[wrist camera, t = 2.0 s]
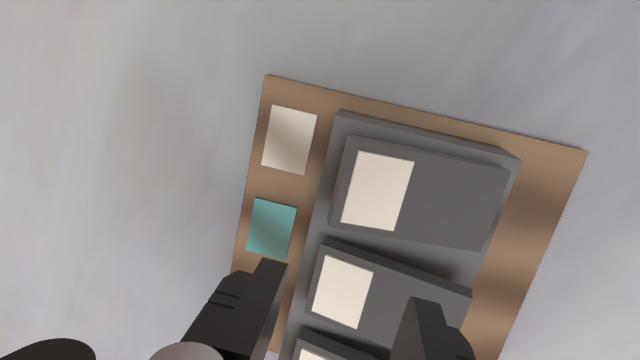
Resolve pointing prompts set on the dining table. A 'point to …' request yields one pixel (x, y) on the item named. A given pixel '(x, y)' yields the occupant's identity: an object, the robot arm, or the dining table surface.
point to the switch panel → (506, 240)
